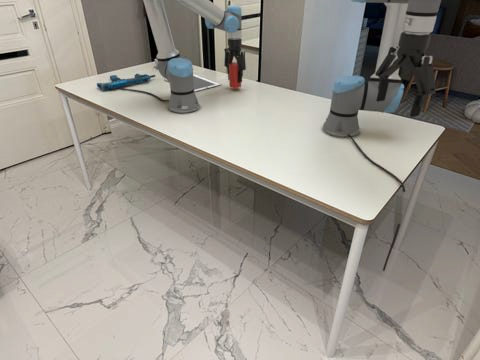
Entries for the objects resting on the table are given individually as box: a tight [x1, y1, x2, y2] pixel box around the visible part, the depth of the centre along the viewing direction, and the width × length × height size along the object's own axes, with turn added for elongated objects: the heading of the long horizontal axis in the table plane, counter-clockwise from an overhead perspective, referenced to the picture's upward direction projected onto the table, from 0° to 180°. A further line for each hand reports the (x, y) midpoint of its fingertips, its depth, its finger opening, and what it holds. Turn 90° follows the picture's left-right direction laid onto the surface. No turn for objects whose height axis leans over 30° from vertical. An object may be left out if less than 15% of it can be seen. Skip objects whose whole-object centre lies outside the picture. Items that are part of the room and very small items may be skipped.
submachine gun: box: [96, 73, 156, 91], centre depth 208 cm, size 34×4×25 cm
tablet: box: [164, 73, 222, 93], centre depth 209 cm, size 32×20×1 cm, turn 41°
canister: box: [228, 61, 242, 89], centre depth 193 cm, size 7×7×13 cm
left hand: (235, 80), depth 195 cm, fingers closed on canister, 7 cm apart
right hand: (396, 108), depth 102 cm, fingers open, 13 cm apart
